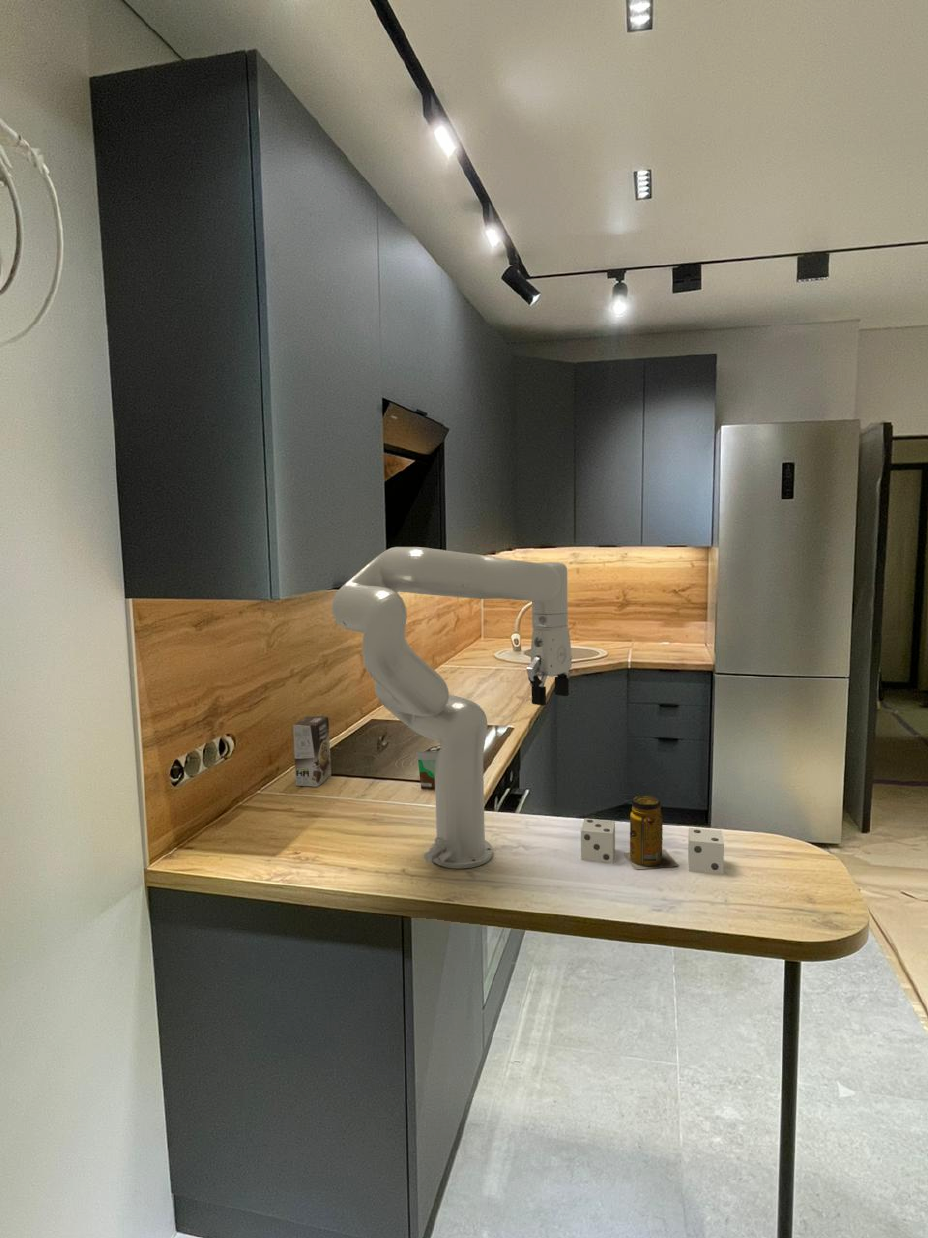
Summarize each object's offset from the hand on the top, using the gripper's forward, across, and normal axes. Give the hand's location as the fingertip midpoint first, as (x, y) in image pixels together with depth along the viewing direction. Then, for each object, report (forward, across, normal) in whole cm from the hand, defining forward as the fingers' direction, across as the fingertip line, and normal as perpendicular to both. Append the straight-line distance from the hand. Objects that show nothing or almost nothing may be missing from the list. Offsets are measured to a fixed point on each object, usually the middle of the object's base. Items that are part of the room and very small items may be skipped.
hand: (550, 699), depth 155 cm
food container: (+27, +4, +34) cm, 44 cm away
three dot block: (+27, -10, -16) cm, 33 cm away
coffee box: (+27, -12, +64) cm, 71 cm away
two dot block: (+27, -3, -35) cm, 44 cm away
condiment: (+27, -6, -25) cm, 38 cm away
